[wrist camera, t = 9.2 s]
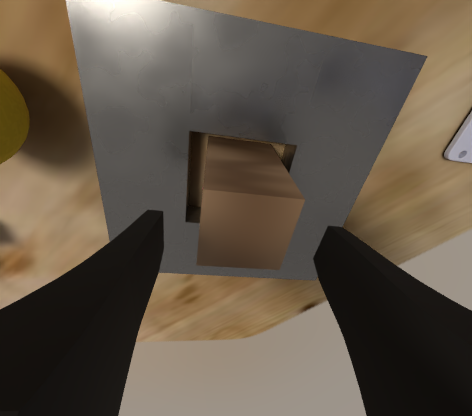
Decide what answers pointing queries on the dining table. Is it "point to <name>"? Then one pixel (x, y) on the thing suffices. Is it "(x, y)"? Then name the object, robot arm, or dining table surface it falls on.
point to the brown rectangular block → (246, 206)
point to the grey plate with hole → (229, 114)
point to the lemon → (11, 118)
